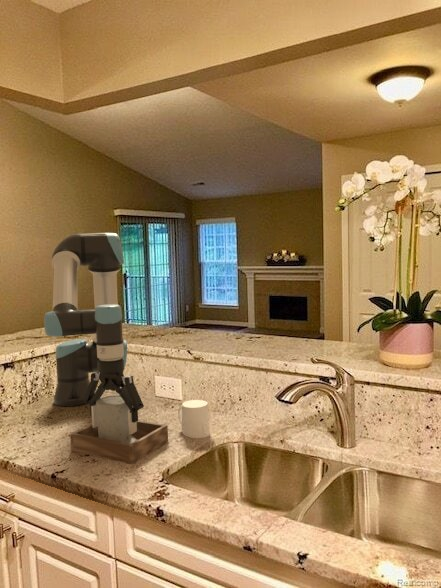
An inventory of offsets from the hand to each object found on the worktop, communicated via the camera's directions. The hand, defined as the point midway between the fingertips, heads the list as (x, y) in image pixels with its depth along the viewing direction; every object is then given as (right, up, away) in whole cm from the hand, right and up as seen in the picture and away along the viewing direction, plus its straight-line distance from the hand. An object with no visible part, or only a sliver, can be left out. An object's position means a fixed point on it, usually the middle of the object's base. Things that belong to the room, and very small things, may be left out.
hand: (114, 429), depth 145 cm
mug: (+23, -4, +9) cm, 25 cm away
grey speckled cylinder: (0, -4, 0) cm, 4 cm away
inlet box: (+2, -5, 0) cm, 5 cm away
